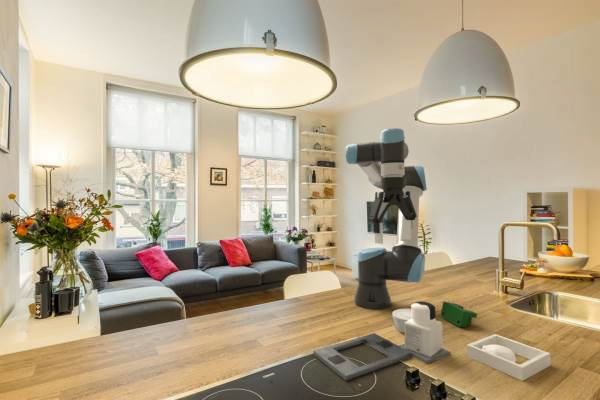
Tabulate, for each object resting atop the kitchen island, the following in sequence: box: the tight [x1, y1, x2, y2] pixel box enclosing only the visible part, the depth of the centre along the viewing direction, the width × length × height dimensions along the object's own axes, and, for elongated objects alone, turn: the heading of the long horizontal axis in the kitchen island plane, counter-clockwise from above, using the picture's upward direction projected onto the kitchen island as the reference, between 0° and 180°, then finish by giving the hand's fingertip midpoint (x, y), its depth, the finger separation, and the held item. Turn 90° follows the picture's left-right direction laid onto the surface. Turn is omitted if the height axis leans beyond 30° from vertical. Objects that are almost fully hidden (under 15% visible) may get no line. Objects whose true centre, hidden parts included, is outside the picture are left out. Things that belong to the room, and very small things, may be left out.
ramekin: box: [391, 308, 412, 334], centre depth 106 cm, size 11×11×5 cm
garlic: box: [482, 344, 517, 363], centre depth 85 cm, size 8×7×4 cm
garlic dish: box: [466, 333, 551, 382], centre depth 85 cm, size 14×14×3 cm
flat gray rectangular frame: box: [312, 332, 413, 382], centre depth 88 cm, size 15×23×1 cm, turn 119°
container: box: [404, 300, 443, 357], centre depth 91 cm, size 8×8×13 cm
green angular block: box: [440, 301, 478, 328], centre depth 112 cm, size 12×6×9 cm, turn 4°
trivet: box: [398, 343, 451, 364], centre depth 91 cm, size 10×10×1 cm
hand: (393, 241), depth 103 cm, fingers open, 13 cm apart
